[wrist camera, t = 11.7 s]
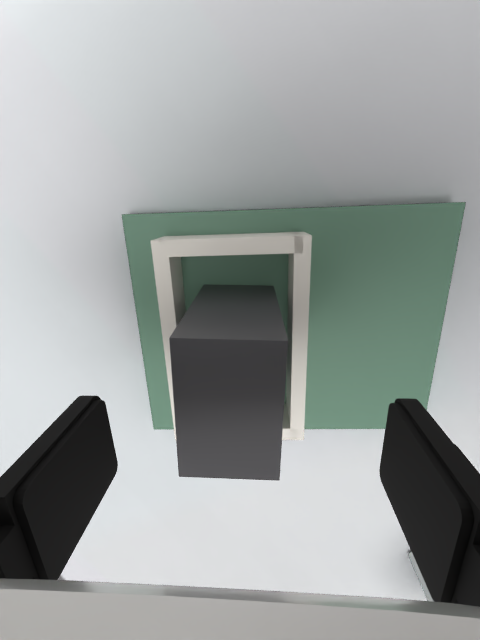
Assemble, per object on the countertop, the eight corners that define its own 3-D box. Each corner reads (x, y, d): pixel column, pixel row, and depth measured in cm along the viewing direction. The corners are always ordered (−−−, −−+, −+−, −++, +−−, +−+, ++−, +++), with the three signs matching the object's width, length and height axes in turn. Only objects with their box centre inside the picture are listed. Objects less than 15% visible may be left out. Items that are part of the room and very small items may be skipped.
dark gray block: (273, 285, 18) (288, 341, 11) (268, 389, 20) (278, 495, 13) (203, 284, 18) (169, 337, 11) (206, 387, 20) (180, 491, 13)
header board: (452, 202, 17) (501, 201, 14) (414, 417, 22) (444, 456, 19) (129, 214, 18) (100, 215, 15) (158, 418, 23) (141, 456, 19)
